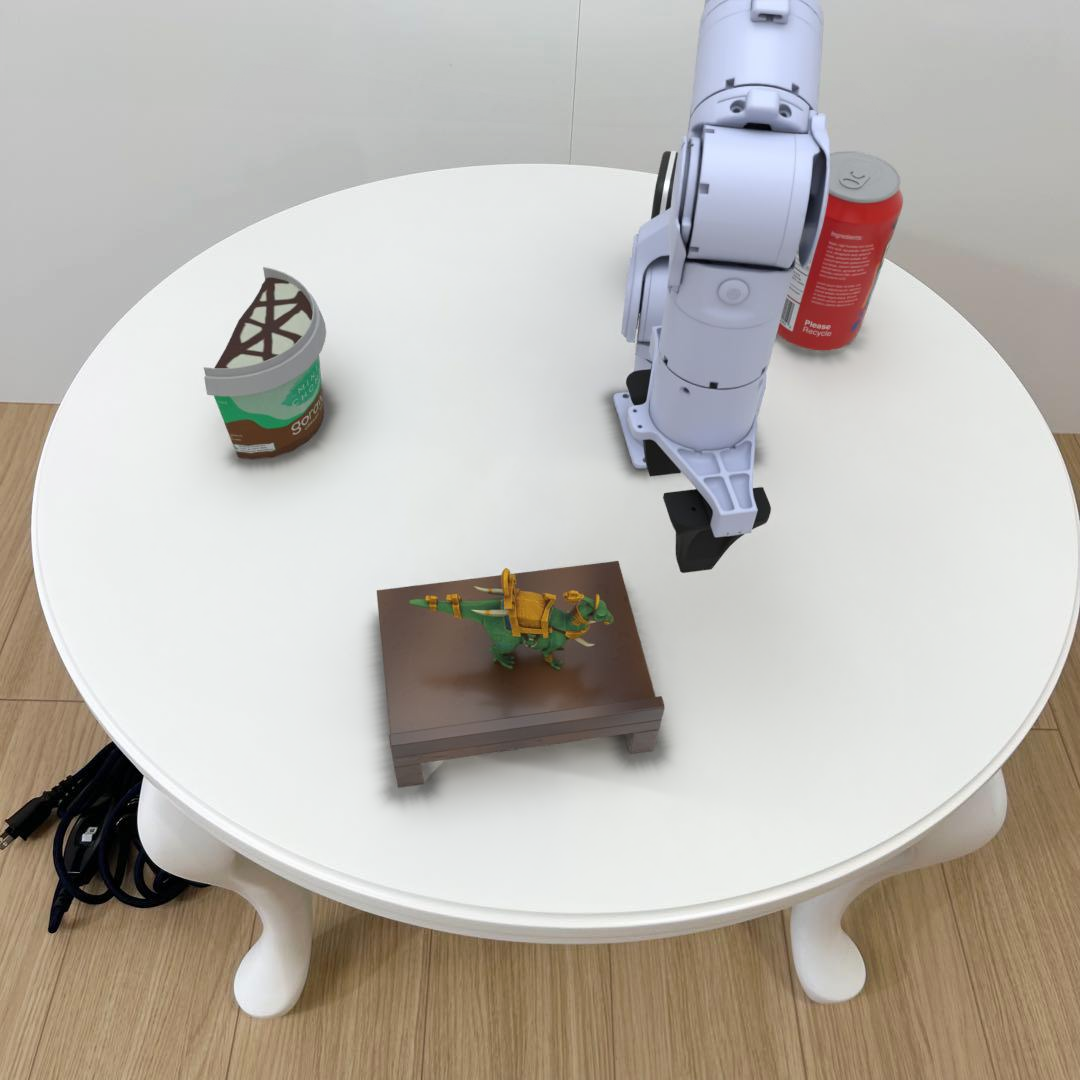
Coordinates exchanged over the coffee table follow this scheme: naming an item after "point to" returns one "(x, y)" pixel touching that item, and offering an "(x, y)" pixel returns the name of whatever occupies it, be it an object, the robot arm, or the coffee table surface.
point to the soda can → (844, 254)
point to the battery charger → (664, 184)
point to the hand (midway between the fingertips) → (679, 517)
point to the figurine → (524, 618)
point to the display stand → (511, 675)
